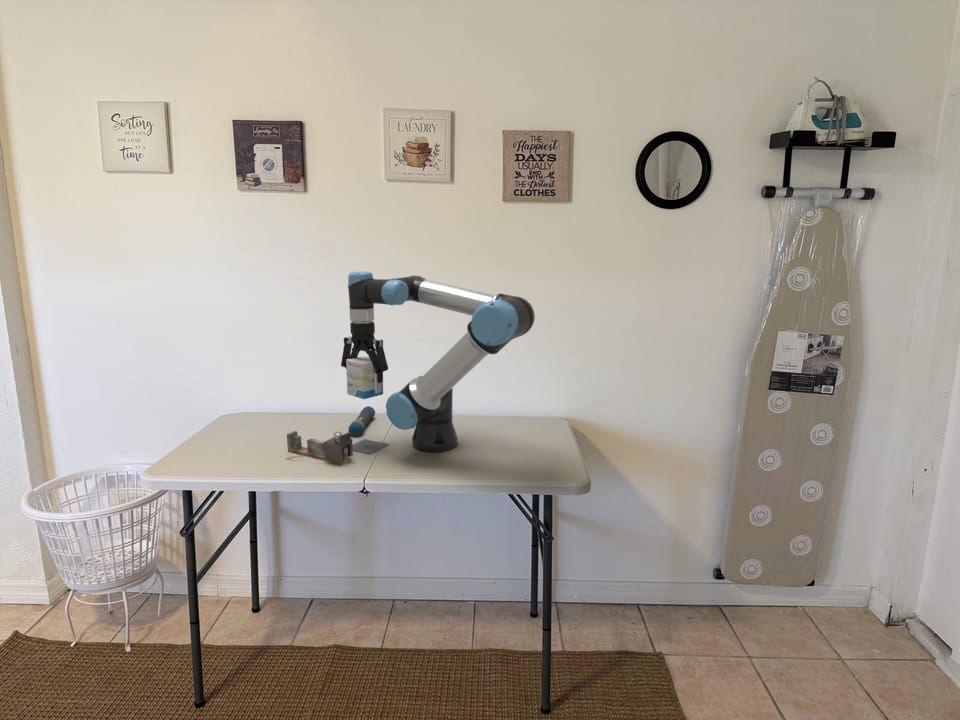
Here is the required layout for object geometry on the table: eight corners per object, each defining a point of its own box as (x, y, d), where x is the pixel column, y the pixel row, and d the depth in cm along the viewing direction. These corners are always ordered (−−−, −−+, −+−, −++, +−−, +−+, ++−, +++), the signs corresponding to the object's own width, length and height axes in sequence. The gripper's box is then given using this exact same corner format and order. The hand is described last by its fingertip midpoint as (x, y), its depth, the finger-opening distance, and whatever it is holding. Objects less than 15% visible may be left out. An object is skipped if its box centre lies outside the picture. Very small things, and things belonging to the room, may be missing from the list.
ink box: (384, 394, 198) (384, 359, 195) (363, 399, 191) (362, 363, 189) (367, 389, 203) (366, 354, 200) (346, 394, 197) (345, 358, 194)
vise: (350, 460, 189) (349, 442, 188) (332, 470, 182) (331, 451, 181) (296, 448, 199) (295, 430, 198) (276, 456, 192) (275, 438, 191)
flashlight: (375, 418, 231) (375, 406, 230) (361, 438, 210) (361, 424, 208) (362, 418, 231) (361, 405, 230) (347, 438, 210) (346, 424, 209)
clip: (352, 455, 190) (351, 431, 188) (340, 462, 185) (338, 437, 183) (337, 452, 193) (336, 428, 191) (324, 458, 188) (323, 434, 186)
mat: (388, 444, 203) (388, 444, 203) (370, 454, 195) (370, 453, 194) (364, 439, 208) (364, 438, 208) (345, 449, 199) (345, 448, 199)
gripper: (398, 322, 190) (400, 391, 195) (342, 317, 200) (345, 383, 205) (384, 325, 184) (386, 397, 188) (326, 320, 194) (330, 389, 198)
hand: (365, 390), depth 197 cm, fingers closed on ink box, 9 cm apart
